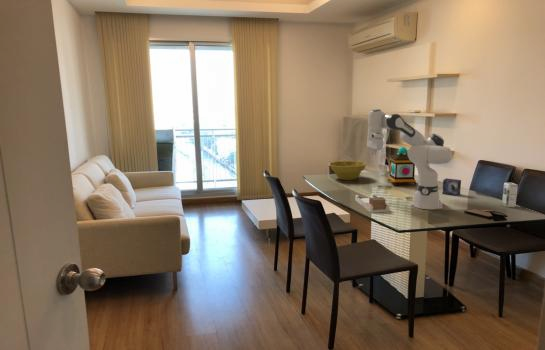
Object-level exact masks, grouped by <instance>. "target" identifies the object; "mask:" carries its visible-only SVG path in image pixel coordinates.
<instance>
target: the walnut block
mask: <svg viewBox="0 0 545 350" xmlns="http://www.w3.org/2000/svg"><path fill="white" fill-rule="evenodd" d="M368 198H369V204H371V205H372V206H373V209H385V203H386V200H387V199H386V198H384V197H383V196H382V197H381V196H379V197H378V196H377V197H373V198H370V197H368Z"/></svg>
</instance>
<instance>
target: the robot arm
mask: <svg viewBox="0 0 545 350" xmlns="http://www.w3.org/2000/svg"><path fill="white" fill-rule="evenodd" d="M367 123H368V124H367V125H368V128H367V138H366V146H367V148H370V149H371V155H372V156H377V151H382V150H383V147H384V138H385V135H384V133H383V132H382V130H384V129H385V130H387V129H388V130H393V131H394V130H395V131H400V134H399V137H400V140H401V141H403V142H404V143H405V144H408V145H410V147H409V148H408V149H407V153H408V158H409V160H410V161H412V162H413V163H414V164H415V169H417V173H418V182H417V183H418V184H417V187H416V191H415V192H414V199H413V202H411V203H410V205H411V206H413V207H415V208H418V209H421V210H422V209H423V210H440V209H443V201H442V200H441V199H440V193H439V187H438V177H439V175H438V172H437V171H436V170H435V169H433V168H432V167H430V164H433V165H442V164H443V165H444V164H448V163H450V162H451V160H452V158H453V152H452V149H450V147H447V146H445V145H444V144H445V140H444V138H443V137H442V136H441V135H440V134H436V133H432V134H430V135H429V137H427V139H426V138H425V136H424V134H422V133H421V132H420V131H418V129H415V128H414V127H413V126H412V125H410V124H409V123H407V122H406V121H405V120H404V118H403V117H402V116H401V115H400V114H398V113H392V114H391V113H385V112H383V111H382V109H379V108H378V109H377V108H376V109H371V110H370V111H369V112H368V117H367Z"/></svg>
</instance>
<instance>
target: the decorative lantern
mask: <svg viewBox="0 0 545 350" xmlns="http://www.w3.org/2000/svg"><path fill="white" fill-rule="evenodd" d="M388 159H389V161H390V162H389V169H388V170H389V176H388V177H387V182H388V183H390V182H392V183H393V187H396V184H409V183H413V186H414V187H415V186H416V185H417V181H416V180H415V171H416V166H415V164H414V163H413V162H412V161H410V160H409V158H408V148H407V147H405V146H401V147H399V149H398V151H397V152H396V153H395V154H392V155H390V156H389V157H388Z"/></svg>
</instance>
